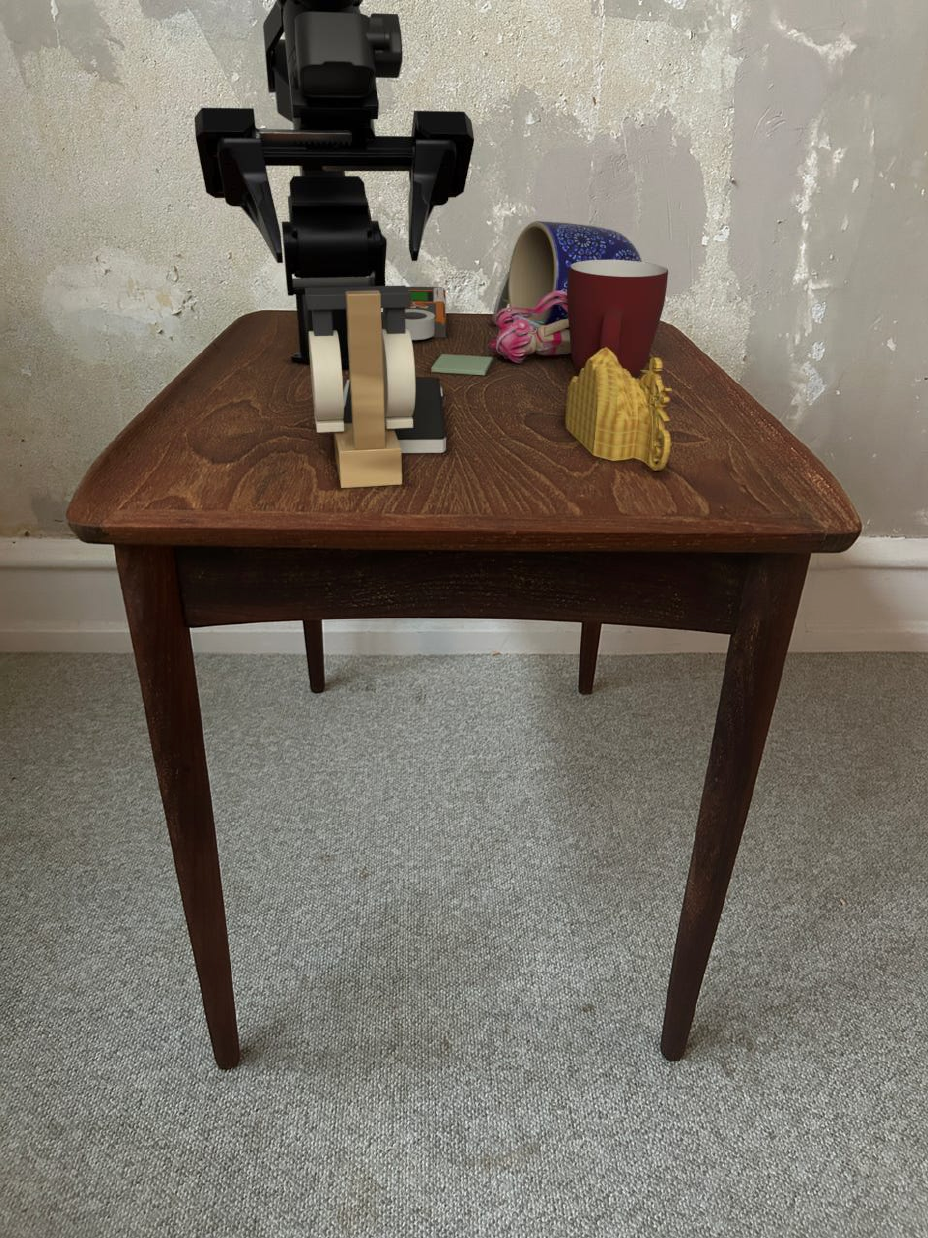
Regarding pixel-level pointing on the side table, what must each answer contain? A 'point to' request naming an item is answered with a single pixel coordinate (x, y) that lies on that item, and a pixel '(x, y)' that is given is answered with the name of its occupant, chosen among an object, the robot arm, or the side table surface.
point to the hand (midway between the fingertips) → (348, 258)
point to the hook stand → (366, 402)
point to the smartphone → (417, 418)
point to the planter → (558, 261)
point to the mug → (615, 310)
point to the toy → (532, 331)
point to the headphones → (329, 357)
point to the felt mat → (462, 364)
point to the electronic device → (425, 313)
